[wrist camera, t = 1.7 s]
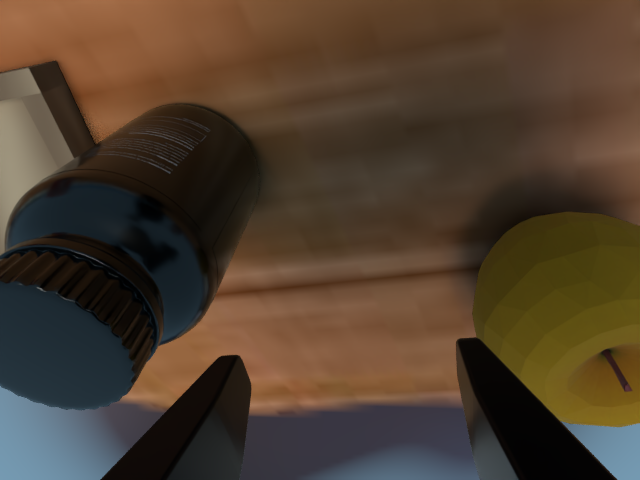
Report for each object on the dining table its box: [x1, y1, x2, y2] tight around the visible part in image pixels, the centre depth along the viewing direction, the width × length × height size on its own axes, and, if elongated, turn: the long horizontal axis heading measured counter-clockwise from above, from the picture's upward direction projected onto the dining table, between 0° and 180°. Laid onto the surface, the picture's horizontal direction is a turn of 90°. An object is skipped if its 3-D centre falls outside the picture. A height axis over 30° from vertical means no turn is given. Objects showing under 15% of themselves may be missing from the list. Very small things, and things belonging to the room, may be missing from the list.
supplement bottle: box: [0, 104, 260, 410], centre depth 16 cm, size 7×7×12 cm
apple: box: [472, 212, 640, 427], centre depth 18 cm, size 9×8×9 cm
